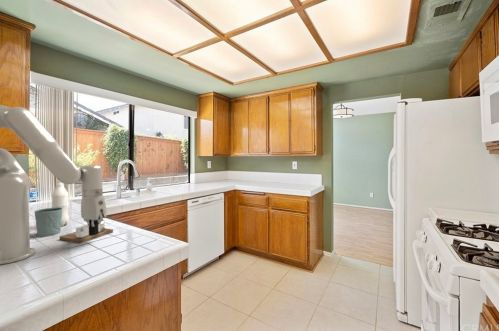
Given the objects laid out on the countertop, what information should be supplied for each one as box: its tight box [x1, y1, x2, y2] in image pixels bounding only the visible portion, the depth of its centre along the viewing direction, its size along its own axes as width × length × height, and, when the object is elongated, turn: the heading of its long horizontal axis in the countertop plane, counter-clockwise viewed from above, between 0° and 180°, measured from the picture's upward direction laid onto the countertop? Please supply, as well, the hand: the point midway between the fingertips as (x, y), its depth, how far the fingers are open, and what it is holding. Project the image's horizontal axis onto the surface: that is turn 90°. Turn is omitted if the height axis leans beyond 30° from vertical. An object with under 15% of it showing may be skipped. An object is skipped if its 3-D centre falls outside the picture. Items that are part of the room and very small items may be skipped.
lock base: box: [59, 227, 114, 244], centre depth 107 cm, size 15×14×6 cm
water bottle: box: [51, 179, 70, 227], centre depth 124 cm, size 7×7×25 cm
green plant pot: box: [34, 207, 62, 238], centre depth 110 cm, size 10×10×12 cm
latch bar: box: [75, 219, 106, 238], centre depth 105 cm, size 12×4×5 cm, turn 161°
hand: (93, 234), depth 99 cm, fingers closed
